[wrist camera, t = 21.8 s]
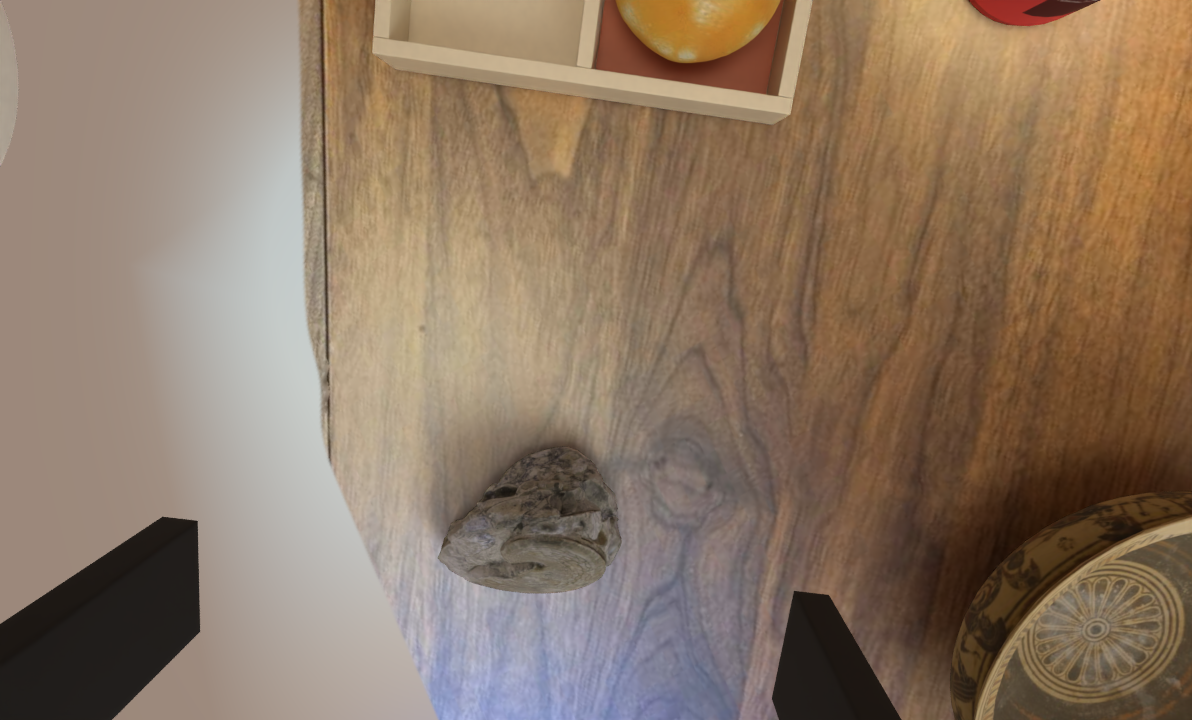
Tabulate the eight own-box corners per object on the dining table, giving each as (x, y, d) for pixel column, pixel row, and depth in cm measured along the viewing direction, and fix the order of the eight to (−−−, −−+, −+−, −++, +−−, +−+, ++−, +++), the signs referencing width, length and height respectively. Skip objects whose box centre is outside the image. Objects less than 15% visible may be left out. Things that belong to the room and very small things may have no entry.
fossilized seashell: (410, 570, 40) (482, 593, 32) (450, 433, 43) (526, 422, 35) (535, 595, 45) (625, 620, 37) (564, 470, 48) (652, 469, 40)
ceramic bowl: (981, 843, 45) (1082, 1013, 36) (779, 614, 42) (829, 734, 32) (1381, 604, 41) (1622, 725, 31) (1190, 324, 37) (1396, 361, 27)
